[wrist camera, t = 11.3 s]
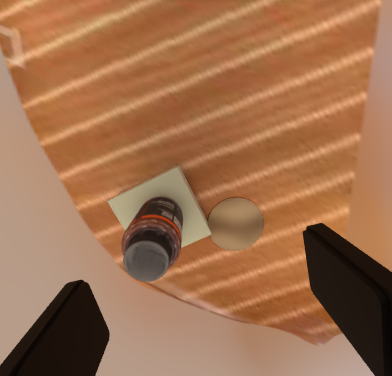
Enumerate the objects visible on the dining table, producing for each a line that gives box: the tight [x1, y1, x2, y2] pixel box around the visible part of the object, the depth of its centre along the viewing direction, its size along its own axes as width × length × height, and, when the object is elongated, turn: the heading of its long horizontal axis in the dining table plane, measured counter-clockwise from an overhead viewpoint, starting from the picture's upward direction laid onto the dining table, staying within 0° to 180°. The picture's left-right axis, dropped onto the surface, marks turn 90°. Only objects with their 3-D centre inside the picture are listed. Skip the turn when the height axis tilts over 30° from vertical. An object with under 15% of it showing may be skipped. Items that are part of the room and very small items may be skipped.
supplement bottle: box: [121, 197, 183, 282], centre depth 25 cm, size 6×6×11 cm
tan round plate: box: [208, 197, 264, 251], centre depth 36 cm, size 9×9×1 cm
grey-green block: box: [107, 164, 211, 248], centre depth 33 cm, size 10×10×5 cm
